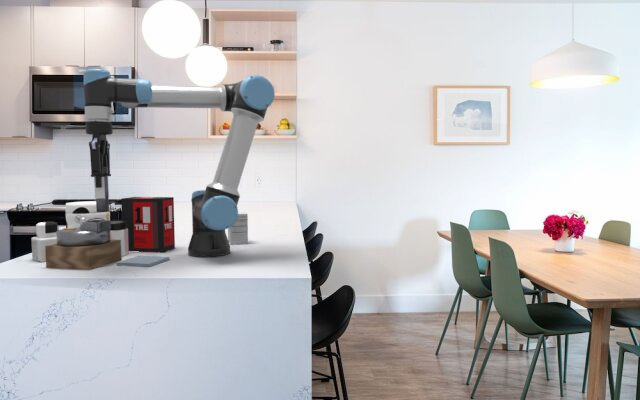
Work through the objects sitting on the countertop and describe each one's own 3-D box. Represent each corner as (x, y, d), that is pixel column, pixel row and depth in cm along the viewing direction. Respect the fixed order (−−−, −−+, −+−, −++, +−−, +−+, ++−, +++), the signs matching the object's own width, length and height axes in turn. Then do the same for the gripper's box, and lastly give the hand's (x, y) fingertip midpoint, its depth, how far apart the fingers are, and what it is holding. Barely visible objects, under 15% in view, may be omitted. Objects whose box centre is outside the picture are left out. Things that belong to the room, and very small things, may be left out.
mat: (169, 259, 170) (169, 256, 170) (149, 266, 159) (149, 263, 159) (138, 258, 173) (138, 255, 173) (116, 265, 162) (116, 262, 162)
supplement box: (227, 242, 208) (227, 212, 207) (245, 241, 210) (245, 211, 209) (230, 245, 201) (229, 213, 200) (248, 244, 203) (247, 213, 202)
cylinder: (111, 211, 156) (109, 166, 154) (104, 212, 152) (102, 166, 151) (101, 211, 156) (99, 166, 155) (94, 212, 153) (92, 166, 152)
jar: (104, 258, 174) (103, 224, 173) (100, 254, 181) (99, 221, 180) (131, 255, 179) (130, 222, 178) (126, 252, 186) (125, 220, 185)
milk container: (96, 253, 184) (94, 204, 183) (54, 251, 187) (52, 204, 186) (122, 245, 201) (120, 201, 200) (83, 244, 204) (81, 200, 203)
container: (55, 256, 178) (53, 220, 177) (65, 258, 173) (63, 221, 172) (32, 259, 172) (30, 222, 171) (41, 262, 167) (39, 224, 166)
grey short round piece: (120, 238, 170) (120, 215, 169) (88, 246, 154) (87, 221, 154) (80, 237, 174) (79, 214, 173) (45, 244, 158) (43, 219, 157)
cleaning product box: (174, 248, 193) (173, 197, 192) (163, 252, 184) (162, 198, 183) (135, 247, 196) (134, 196, 195) (123, 251, 187) (121, 198, 186)
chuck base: (121, 260, 170) (120, 239, 170) (89, 269, 155) (88, 247, 154) (81, 258, 174) (80, 238, 174) (46, 267, 159) (45, 245, 158)
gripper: (103, 119, 144) (107, 199, 146) (118, 123, 161) (121, 195, 163) (76, 119, 143) (80, 200, 145) (94, 123, 160) (97, 196, 161)
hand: (102, 197), depth 154 cm, fingers closed on cylinder, 3 cm apart
